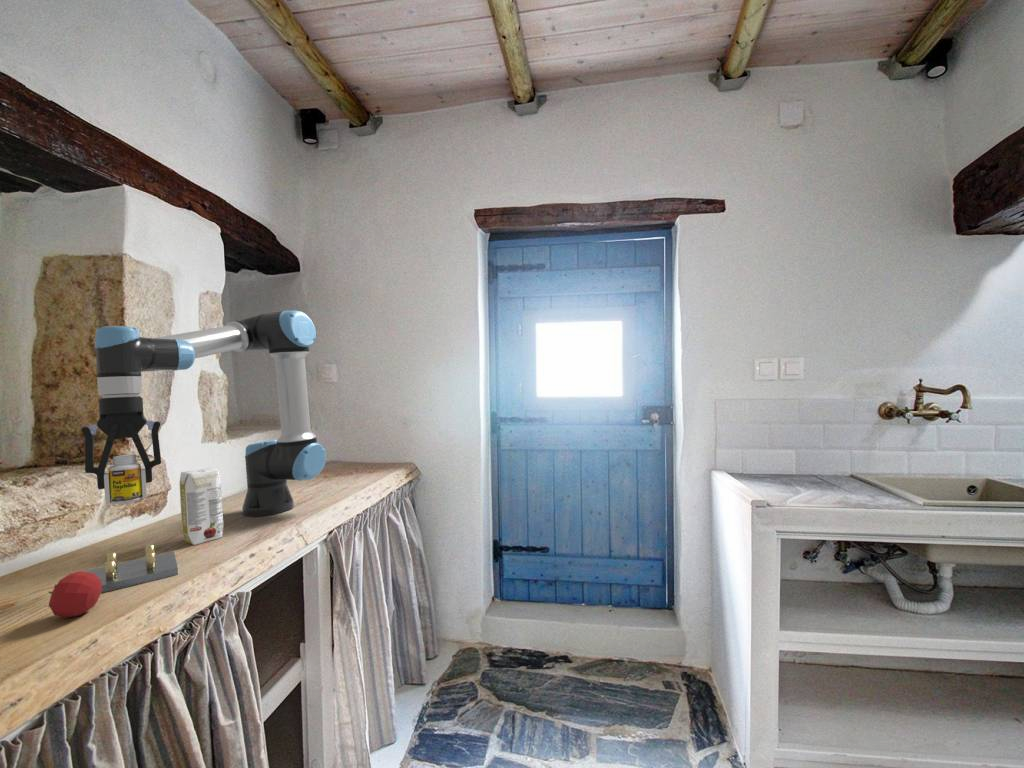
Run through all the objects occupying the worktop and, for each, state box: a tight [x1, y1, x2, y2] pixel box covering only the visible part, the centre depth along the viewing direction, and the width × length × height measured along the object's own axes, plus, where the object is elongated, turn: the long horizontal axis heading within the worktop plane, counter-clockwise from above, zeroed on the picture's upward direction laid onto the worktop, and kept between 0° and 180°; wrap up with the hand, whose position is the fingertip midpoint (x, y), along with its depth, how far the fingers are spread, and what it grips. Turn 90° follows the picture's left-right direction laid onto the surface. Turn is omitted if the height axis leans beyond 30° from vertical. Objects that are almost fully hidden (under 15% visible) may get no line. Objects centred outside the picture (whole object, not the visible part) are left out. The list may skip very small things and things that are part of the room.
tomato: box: [48, 570, 102, 619], centre depth 87 cm, size 8×8×8 cm
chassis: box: [85, 544, 179, 594], centre depth 104 cm, size 16×14×5 cm
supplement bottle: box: [108, 454, 143, 505], centre depth 104 cm, size 6×6×10 cm
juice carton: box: [178, 467, 224, 546], centre depth 127 cm, size 8×9×19 cm
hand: (126, 500), depth 104 cm, fingers closed on supplement bottle, 6 cm apart
